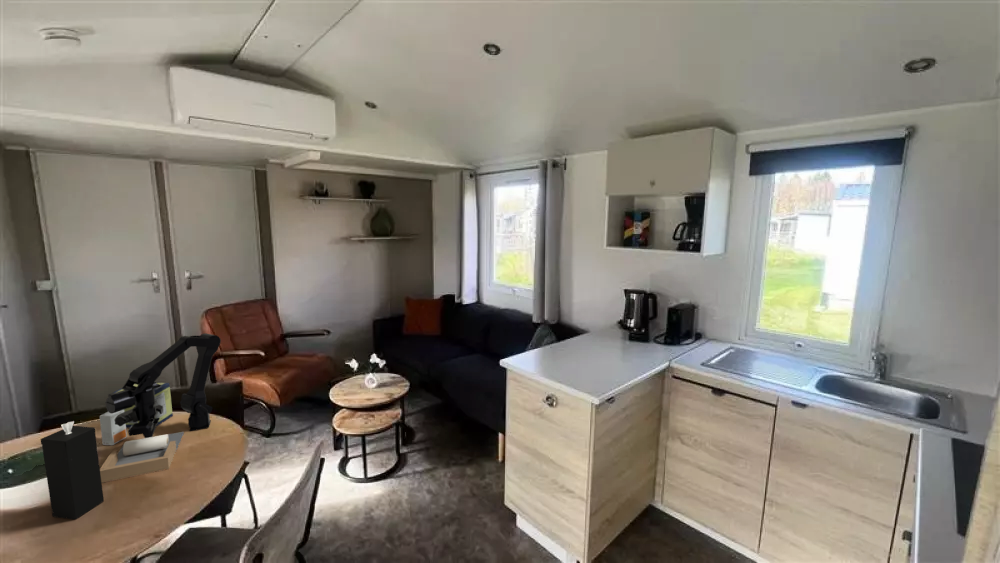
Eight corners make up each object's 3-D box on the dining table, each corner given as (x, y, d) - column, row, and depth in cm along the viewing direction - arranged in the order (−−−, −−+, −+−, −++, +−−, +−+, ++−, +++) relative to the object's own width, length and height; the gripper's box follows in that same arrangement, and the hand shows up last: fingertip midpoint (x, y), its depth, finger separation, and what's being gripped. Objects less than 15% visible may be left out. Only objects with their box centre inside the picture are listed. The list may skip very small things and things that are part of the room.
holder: (183, 433, 164) (182, 423, 164) (168, 468, 142) (167, 457, 141) (125, 443, 156) (124, 433, 155) (99, 483, 133) (98, 471, 133)
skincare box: (113, 445, 154) (109, 416, 153) (102, 445, 155) (98, 415, 153) (128, 437, 160) (124, 408, 159) (117, 436, 161) (114, 408, 159)
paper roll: (167, 431, 154) (165, 442, 150) (169, 439, 156) (167, 450, 153) (125, 438, 148) (121, 450, 144) (128, 447, 150) (125, 458, 147)
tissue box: (104, 501, 125) (93, 417, 121) (75, 520, 117) (63, 430, 113) (81, 499, 126) (70, 415, 122) (51, 517, 118) (38, 428, 114)
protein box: (136, 415, 177) (132, 382, 175) (173, 416, 178) (170, 382, 176) (115, 428, 167) (111, 392, 164) (155, 428, 168) (151, 392, 165)
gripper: (125, 395, 155) (129, 433, 157) (106, 417, 139) (111, 458, 141) (162, 390, 160) (165, 427, 163) (148, 411, 144) (152, 451, 146)
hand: (148, 440), depth 153 cm, fingers closed
